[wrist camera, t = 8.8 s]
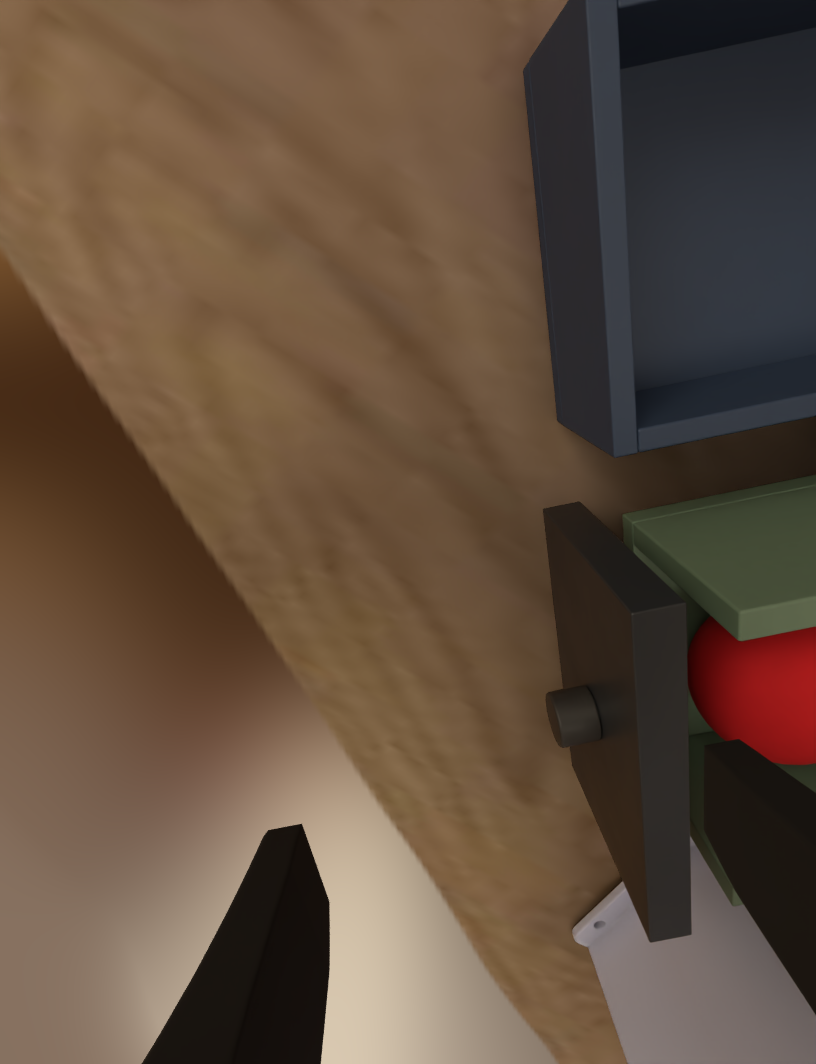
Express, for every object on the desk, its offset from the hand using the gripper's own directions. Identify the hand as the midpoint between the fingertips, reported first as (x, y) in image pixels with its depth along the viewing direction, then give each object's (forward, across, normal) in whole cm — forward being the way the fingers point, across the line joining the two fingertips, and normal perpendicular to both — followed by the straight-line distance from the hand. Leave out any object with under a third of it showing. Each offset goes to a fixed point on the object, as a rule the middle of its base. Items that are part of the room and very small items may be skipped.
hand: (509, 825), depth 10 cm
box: (+10, -11, -9) cm, 18 cm away
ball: (+6, -9, +3) cm, 11 cm away
